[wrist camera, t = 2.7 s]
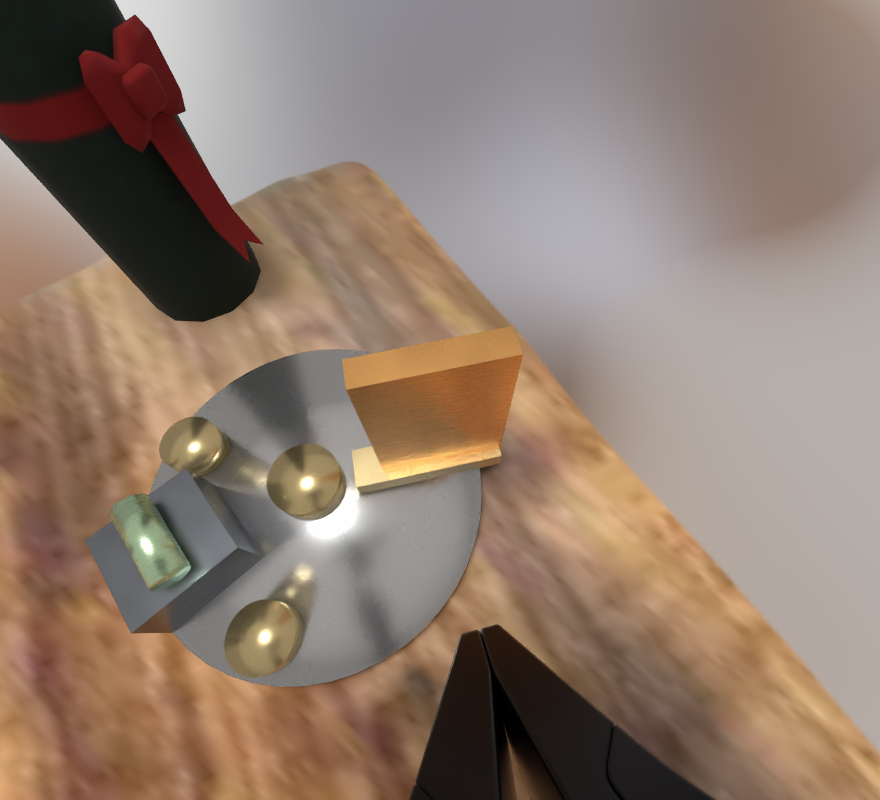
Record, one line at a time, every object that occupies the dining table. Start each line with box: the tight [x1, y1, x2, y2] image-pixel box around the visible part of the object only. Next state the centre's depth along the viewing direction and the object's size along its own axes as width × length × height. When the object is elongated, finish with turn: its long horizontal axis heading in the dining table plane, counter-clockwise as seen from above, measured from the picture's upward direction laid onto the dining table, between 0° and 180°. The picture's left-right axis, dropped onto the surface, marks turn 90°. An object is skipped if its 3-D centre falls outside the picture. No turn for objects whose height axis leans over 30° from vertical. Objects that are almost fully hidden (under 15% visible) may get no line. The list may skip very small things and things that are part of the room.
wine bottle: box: [0, 0, 262, 321], centre depth 19 cm, size 8×10×30 cm
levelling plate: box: [85, 349, 482, 687], centre depth 22 cm, size 18×18×6 cm
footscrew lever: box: [267, 326, 523, 520], centre depth 19 cm, size 12×4×10 cm, turn 102°
